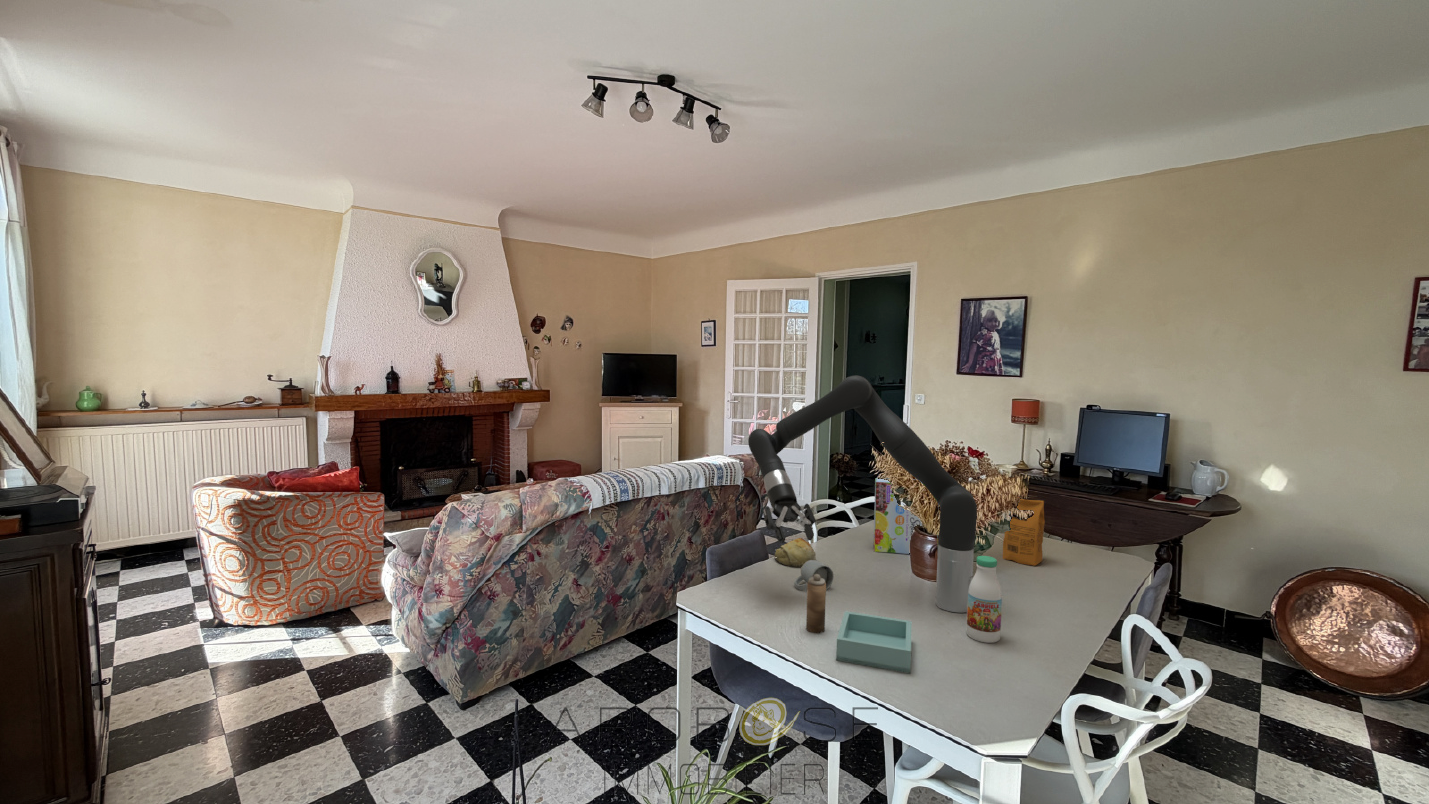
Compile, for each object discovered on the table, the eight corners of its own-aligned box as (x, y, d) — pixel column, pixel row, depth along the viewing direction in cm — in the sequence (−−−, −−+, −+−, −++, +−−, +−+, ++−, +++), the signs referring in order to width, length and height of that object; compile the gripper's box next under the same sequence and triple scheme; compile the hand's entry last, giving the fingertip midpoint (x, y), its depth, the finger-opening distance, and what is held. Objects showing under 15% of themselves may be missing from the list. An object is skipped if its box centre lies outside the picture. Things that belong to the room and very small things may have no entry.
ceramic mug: (819, 579, 184) (819, 555, 183) (834, 589, 176) (834, 564, 176) (789, 584, 180) (789, 560, 179) (802, 594, 172) (803, 569, 172)
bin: (910, 640, 144) (911, 621, 144) (910, 673, 129) (911, 651, 129) (844, 630, 150) (844, 611, 149) (836, 660, 134) (836, 638, 134)
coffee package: (1009, 552, 213) (1012, 492, 212) (1046, 561, 204) (1050, 499, 203) (997, 558, 207) (1000, 496, 205) (1035, 568, 198) (1039, 503, 196)
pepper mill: (825, 626, 151) (827, 572, 150) (823, 634, 147) (824, 578, 146) (807, 623, 153) (809, 569, 152) (804, 631, 148) (806, 576, 147)
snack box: (934, 549, 215) (937, 480, 213) (937, 557, 207) (940, 485, 205) (872, 544, 220) (875, 476, 218) (873, 552, 211) (876, 481, 210)
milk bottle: (961, 628, 151) (964, 552, 150) (991, 629, 151) (995, 553, 150) (973, 643, 144) (977, 563, 142) (1005, 644, 143) (1010, 563, 142)
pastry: (822, 561, 201) (823, 538, 201) (807, 571, 191) (807, 547, 190) (785, 553, 209) (786, 531, 208) (768, 563, 199) (769, 539, 198)
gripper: (761, 483, 165) (778, 535, 155) (806, 481, 170) (825, 531, 160) (752, 497, 170) (768, 549, 160) (796, 495, 175) (814, 544, 165)
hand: (797, 540), depth 160 cm, fingers open, 8 cm apart
